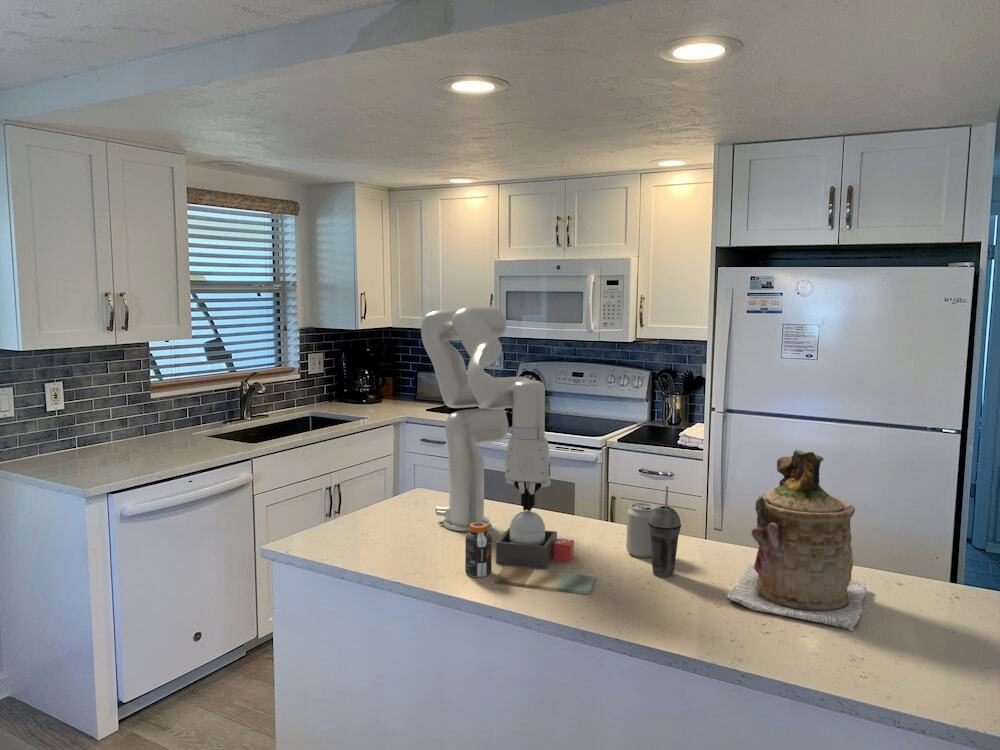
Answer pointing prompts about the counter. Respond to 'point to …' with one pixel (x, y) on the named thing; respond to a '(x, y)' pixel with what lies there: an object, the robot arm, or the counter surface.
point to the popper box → (534, 551)
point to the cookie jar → (802, 550)
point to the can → (639, 529)
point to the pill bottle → (478, 550)
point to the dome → (527, 529)
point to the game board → (546, 579)
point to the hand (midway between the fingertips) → (528, 509)
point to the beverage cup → (664, 539)
